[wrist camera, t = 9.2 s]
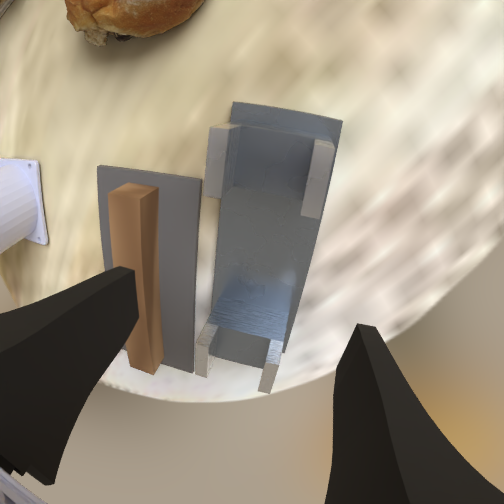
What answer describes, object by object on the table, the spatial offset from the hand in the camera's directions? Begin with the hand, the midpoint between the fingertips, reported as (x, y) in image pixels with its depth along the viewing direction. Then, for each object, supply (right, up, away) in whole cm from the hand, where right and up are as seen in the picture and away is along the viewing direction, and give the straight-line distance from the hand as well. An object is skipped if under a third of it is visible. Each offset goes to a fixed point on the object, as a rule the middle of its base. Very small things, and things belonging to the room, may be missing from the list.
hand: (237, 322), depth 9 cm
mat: (-8, 0, +14) cm, 16 cm away
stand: (+1, +3, +10) cm, 11 cm away
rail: (-8, 0, +14) cm, 16 cm away
